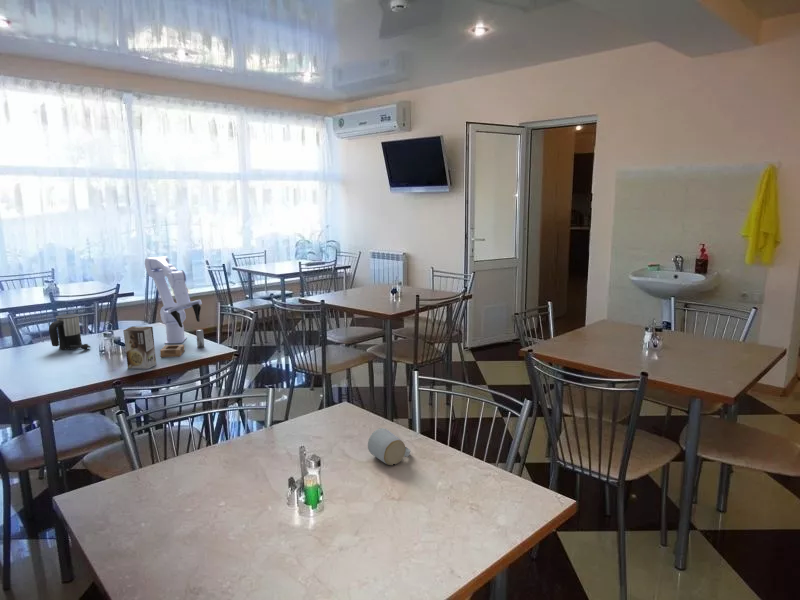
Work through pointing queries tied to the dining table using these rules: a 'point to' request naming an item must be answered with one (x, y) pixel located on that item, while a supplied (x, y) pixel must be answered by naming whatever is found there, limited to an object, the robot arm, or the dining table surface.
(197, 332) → the needle peg
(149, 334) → the coffee box
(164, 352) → the bead block
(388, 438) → the ceramic mug
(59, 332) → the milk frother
